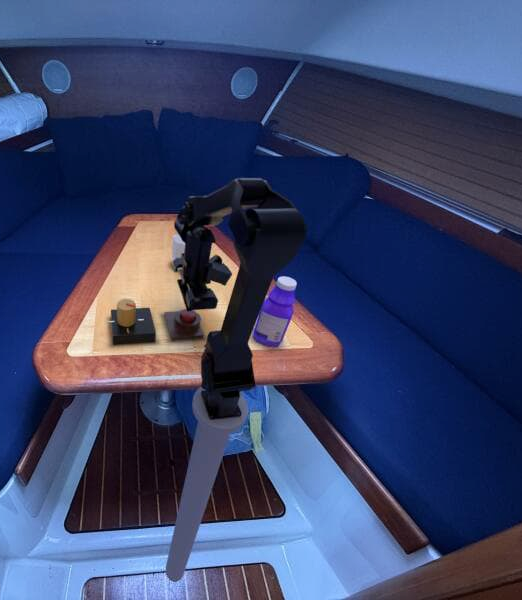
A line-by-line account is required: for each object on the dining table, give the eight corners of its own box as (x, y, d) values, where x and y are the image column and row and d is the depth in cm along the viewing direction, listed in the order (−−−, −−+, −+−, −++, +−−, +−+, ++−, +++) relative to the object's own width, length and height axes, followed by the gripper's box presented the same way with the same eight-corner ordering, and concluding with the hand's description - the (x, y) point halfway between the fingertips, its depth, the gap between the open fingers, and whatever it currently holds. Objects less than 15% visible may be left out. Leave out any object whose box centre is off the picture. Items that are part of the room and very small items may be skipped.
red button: (196, 322, 80) (197, 317, 79) (182, 323, 79) (183, 317, 78) (192, 313, 82) (193, 308, 81) (179, 314, 82) (179, 309, 81)
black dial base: (155, 342, 77) (155, 332, 75) (109, 345, 75) (109, 335, 73) (149, 316, 85) (149, 306, 83) (107, 318, 83) (107, 309, 81)
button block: (204, 338, 79) (205, 329, 77) (171, 341, 77) (172, 331, 76) (193, 313, 87) (195, 304, 85) (164, 315, 85) (164, 306, 84)
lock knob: (113, 323, 77) (113, 305, 73) (122, 313, 80) (122, 296, 77) (130, 328, 75) (130, 310, 72) (138, 318, 79) (138, 300, 76)
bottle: (283, 337, 81) (305, 279, 71) (280, 351, 77) (303, 291, 67) (254, 328, 83) (272, 270, 73) (249, 341, 79) (268, 281, 69)
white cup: (165, 265, 108) (167, 238, 102) (180, 258, 112) (183, 231, 107) (183, 274, 103) (186, 246, 98) (198, 266, 108) (202, 239, 103)
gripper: (248, 274, 64) (232, 333, 73) (218, 235, 79) (208, 288, 88) (194, 276, 62) (185, 336, 71) (174, 236, 77) (169, 290, 86)
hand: (188, 310), depth 79 cm, fingers closed
